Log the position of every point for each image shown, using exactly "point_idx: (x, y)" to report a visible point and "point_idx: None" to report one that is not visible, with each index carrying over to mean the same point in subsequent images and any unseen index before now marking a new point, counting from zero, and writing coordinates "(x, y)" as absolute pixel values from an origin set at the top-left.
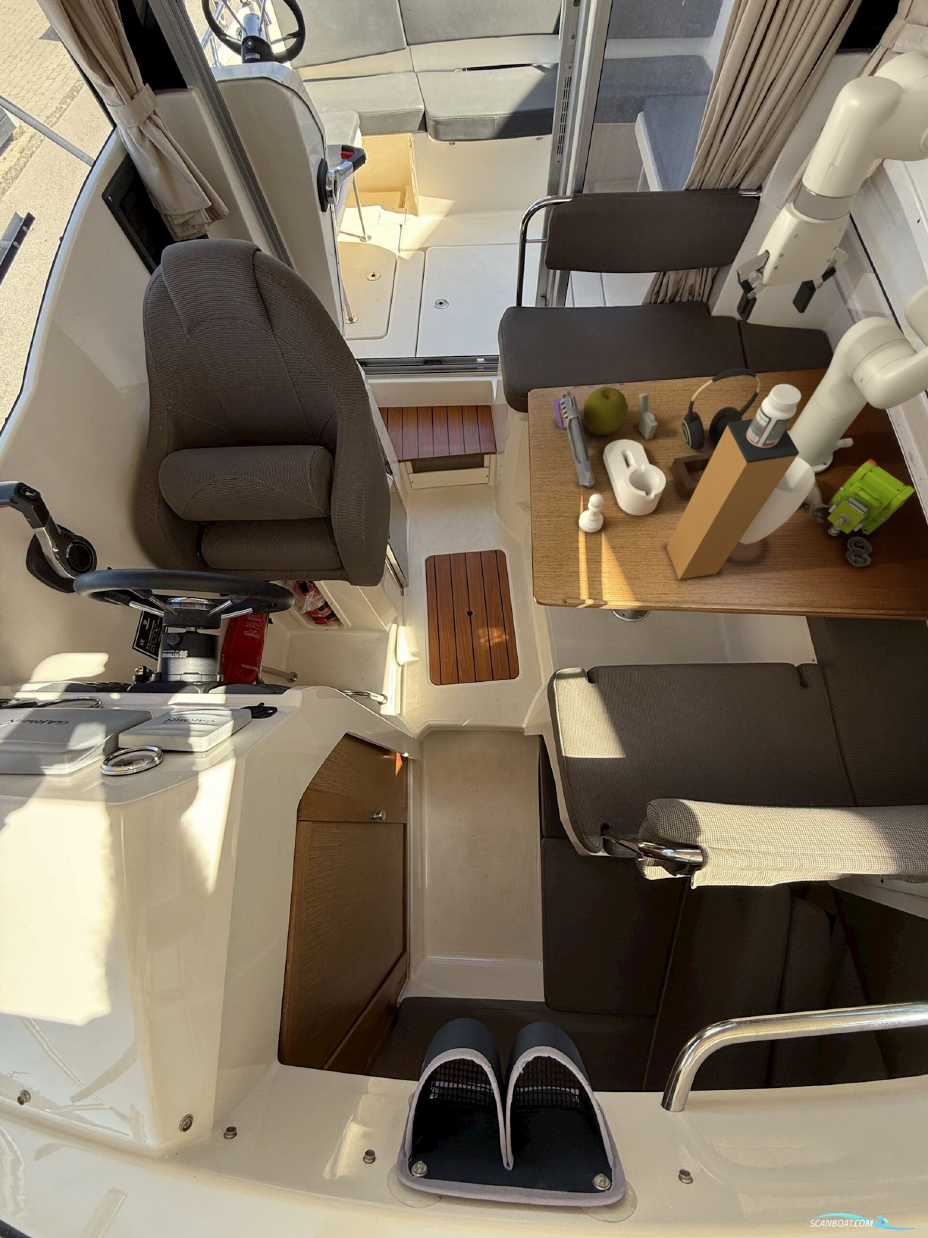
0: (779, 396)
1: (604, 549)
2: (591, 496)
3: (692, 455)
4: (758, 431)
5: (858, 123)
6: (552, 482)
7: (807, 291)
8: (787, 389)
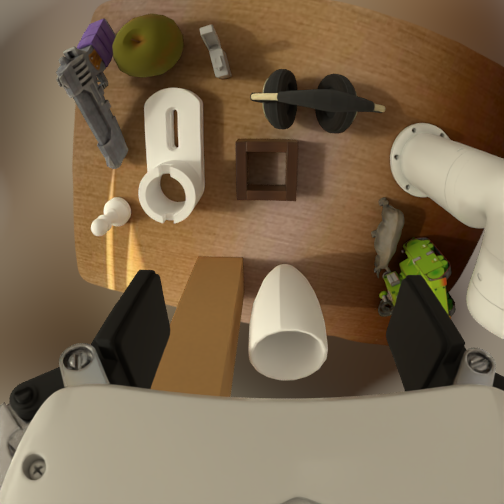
0: None
1: (131, 245)
2: (91, 224)
3: (264, 142)
4: None
5: None
6: (85, 144)
7: (414, 382)
8: None
